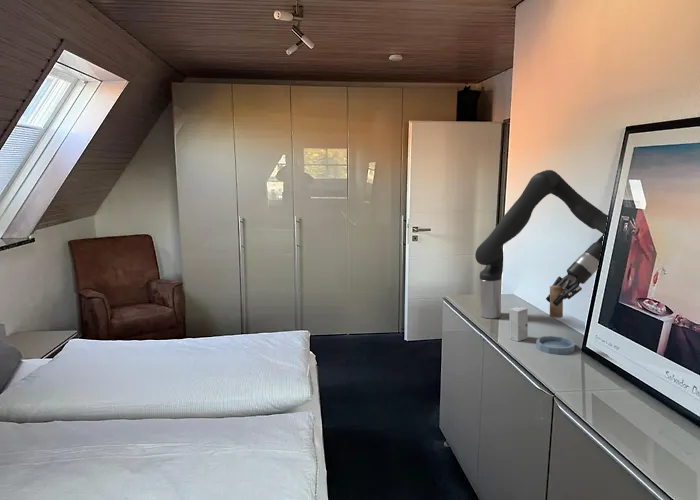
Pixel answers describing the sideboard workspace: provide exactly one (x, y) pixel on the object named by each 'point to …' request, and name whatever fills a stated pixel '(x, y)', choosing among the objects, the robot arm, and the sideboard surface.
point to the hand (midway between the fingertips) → (551, 302)
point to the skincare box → (518, 323)
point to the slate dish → (555, 345)
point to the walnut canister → (554, 310)
